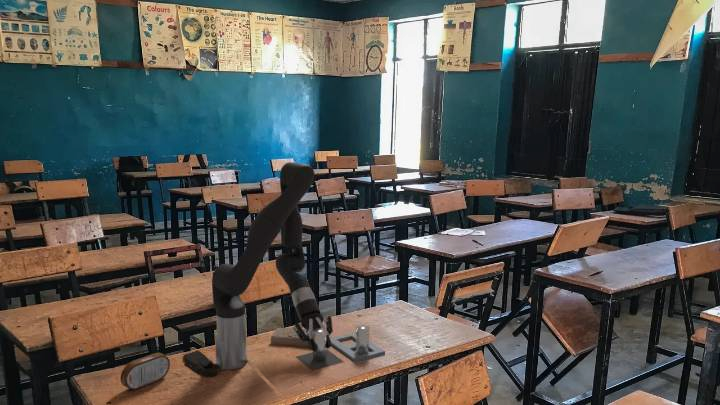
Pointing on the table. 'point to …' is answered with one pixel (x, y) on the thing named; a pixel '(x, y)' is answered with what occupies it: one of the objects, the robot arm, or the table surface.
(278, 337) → the brick
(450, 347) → the table surface
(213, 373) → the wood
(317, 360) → the cylinder
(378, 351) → the grey slotted holder
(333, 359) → the mat
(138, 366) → the tin
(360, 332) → the cylinder
